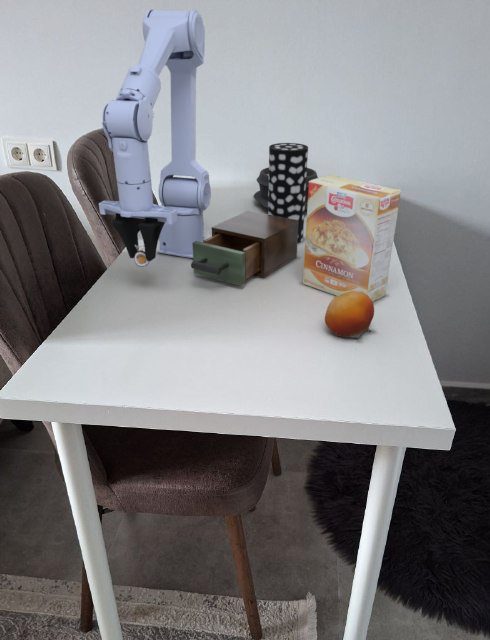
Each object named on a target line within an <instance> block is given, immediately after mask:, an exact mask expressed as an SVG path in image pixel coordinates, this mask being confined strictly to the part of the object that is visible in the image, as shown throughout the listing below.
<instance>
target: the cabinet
mask: <svg viewBox="0 0 490 640" xmlns="http://www.w3.org/2000/svg"><path fill="white" fill-rule="evenodd" d="M298 223H299V220H294V219H289V218H284V217H279V216H273V215H268V213H263V212H257V211H253V210H246V211H243V212H242V213H239V214H237V215H235V216H232V217H230V218H228V219H226V220H224V221H222V222H220V223H218V224H215V225H213V226H211V237H212V236H214V235H216V234H218V233H223V234H227V235H232V236H236V237H241V238H245V239H250V240H254V241H259V242H262V243H261V270H260V271H259V272H257V273H255V274H254V275H252V276H251V277H255V278H260V279H266V278H268V277H269V276H271V275H272V274H274V273H276V272H277V271H279V270H280V269H282V268H284V267H285V266H286V265H288V264H289V263H291V262H293V261H294V260H296V259H297V258H298V243H297V241H298Z"/></svg>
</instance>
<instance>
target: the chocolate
mask: <svg viewBox="0 0 490 640" xmlns="http://www.w3.org/2000/svg"><path fill="white" fill-rule="evenodd" d="M135 247H137V246H135ZM137 250H138V249H137ZM133 261H134V263H135V265H136V266H137V267H139V268H144V267H148V266H149V264H150V262H151V261H147V260H146V256H145V248H144V244H143V245H141V244H140V245H139V251H137V252H136V253H135V255H134V258H133Z"/></svg>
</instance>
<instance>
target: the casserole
mask: <svg viewBox="0 0 490 640" xmlns="http://www.w3.org/2000/svg"><path fill="white" fill-rule="evenodd" d="M316 178H319V177H318V173H317V171H316V170H315V169H312V168H309V167H307V177H306V194H305V211H307V206H308V189H309V181H311V180H313V179H316ZM256 182H257V183H258V185H259V190H258V191H256V192H255V193H254V194H253V199H254V200H255V201H257V202H258V203H260V204H261V205H262V206H263V207H264V208H265V209H268V183H269V166H268V167H265V168H263V169H261V170H260V172H259V175H258V177H257V178H256Z"/></svg>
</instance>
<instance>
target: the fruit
mask: <svg viewBox="0 0 490 640" xmlns="http://www.w3.org/2000/svg"><path fill="white" fill-rule="evenodd" d="M374 305H375V304H374V301H373V302H372V300H371V299H370V298H369V296H368V295H367V294H365V293H363V292H357V291H349V292H346V293H344V294H342V295H340V296H336V295H335V296H334V297H333V298H332V299H330V302H329V303H328V305H327V308H326V311H325V314H324V323H325V325H326V327H327V328H328V329H329V330H330V331H331V333H332V334H334V335H336V336H338V337H341V338H356V339H358V340H359V339H360V337H361V335H362V334H363V333H364V332H365V331H369V332H372V330H371V329H369V328H370V326H371V324H372V321H373V318H374V316H375V306H374Z"/></svg>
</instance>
